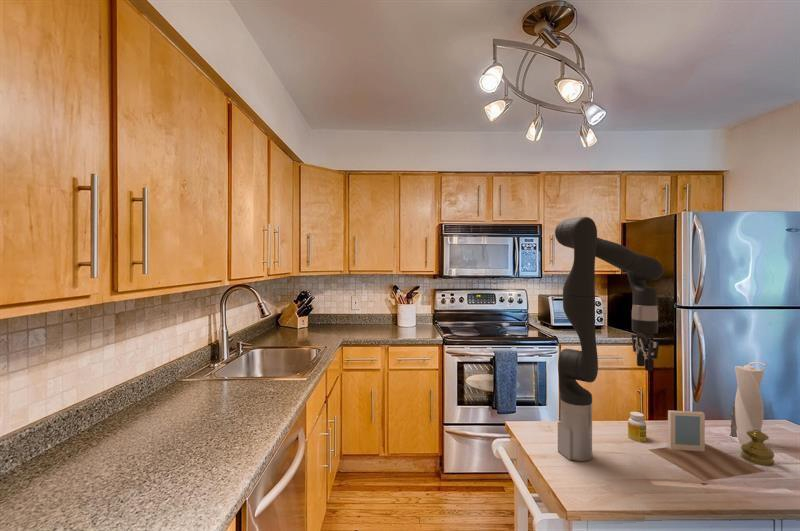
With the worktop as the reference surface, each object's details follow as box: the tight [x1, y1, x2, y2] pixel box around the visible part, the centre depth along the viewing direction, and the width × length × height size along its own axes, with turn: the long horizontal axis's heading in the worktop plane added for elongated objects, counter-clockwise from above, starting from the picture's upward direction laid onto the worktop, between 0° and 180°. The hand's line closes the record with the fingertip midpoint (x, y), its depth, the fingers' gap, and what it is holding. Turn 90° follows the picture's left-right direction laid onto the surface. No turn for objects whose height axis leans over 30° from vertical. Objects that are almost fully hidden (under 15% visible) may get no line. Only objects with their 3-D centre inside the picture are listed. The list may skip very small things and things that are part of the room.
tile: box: [667, 409, 706, 451], centre depth 123 cm, size 10×2×12 cm, turn 82°
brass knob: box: [740, 430, 775, 467], centre depth 117 cm, size 7×7×10 cm
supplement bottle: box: [627, 411, 647, 443], centre depth 131 cm, size 5×5×10 cm
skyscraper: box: [729, 361, 767, 445], centre depth 130 cm, size 8×8×28 cm
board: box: [648, 442, 765, 486], centre depth 117 cm, size 22×18×1 cm
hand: (644, 368), depth 130 cm, fingers open, 5 cm apart
